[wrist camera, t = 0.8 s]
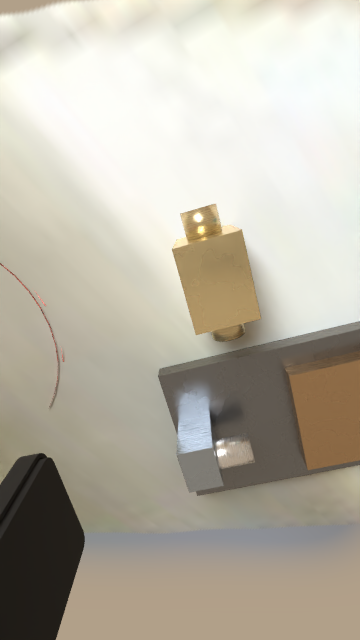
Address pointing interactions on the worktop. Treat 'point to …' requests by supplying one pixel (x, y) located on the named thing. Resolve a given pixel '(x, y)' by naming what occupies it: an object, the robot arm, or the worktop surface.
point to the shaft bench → (267, 410)
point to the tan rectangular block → (215, 275)
